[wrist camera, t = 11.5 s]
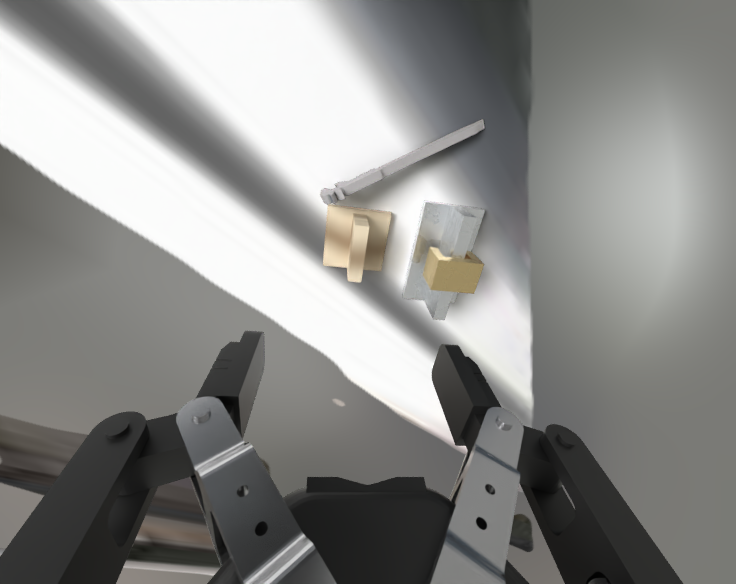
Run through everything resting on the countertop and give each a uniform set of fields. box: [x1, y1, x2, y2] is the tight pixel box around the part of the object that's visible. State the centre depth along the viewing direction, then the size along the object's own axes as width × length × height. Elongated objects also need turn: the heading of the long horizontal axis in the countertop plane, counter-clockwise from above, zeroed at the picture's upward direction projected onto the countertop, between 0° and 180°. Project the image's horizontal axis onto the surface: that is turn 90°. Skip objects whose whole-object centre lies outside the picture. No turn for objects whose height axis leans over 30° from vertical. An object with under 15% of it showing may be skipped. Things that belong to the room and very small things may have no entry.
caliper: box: [320, 119, 485, 205], centre depth 34 cm, size 20×1×6 cm, turn 112°
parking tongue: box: [323, 204, 391, 282], centre depth 38 cm, size 8×8×6 cm
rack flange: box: [402, 201, 485, 320], centre depth 40 cm, size 14×8×6 cm, turn 172°
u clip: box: [423, 247, 484, 294], centre depth 38 cm, size 4×6×4 cm
